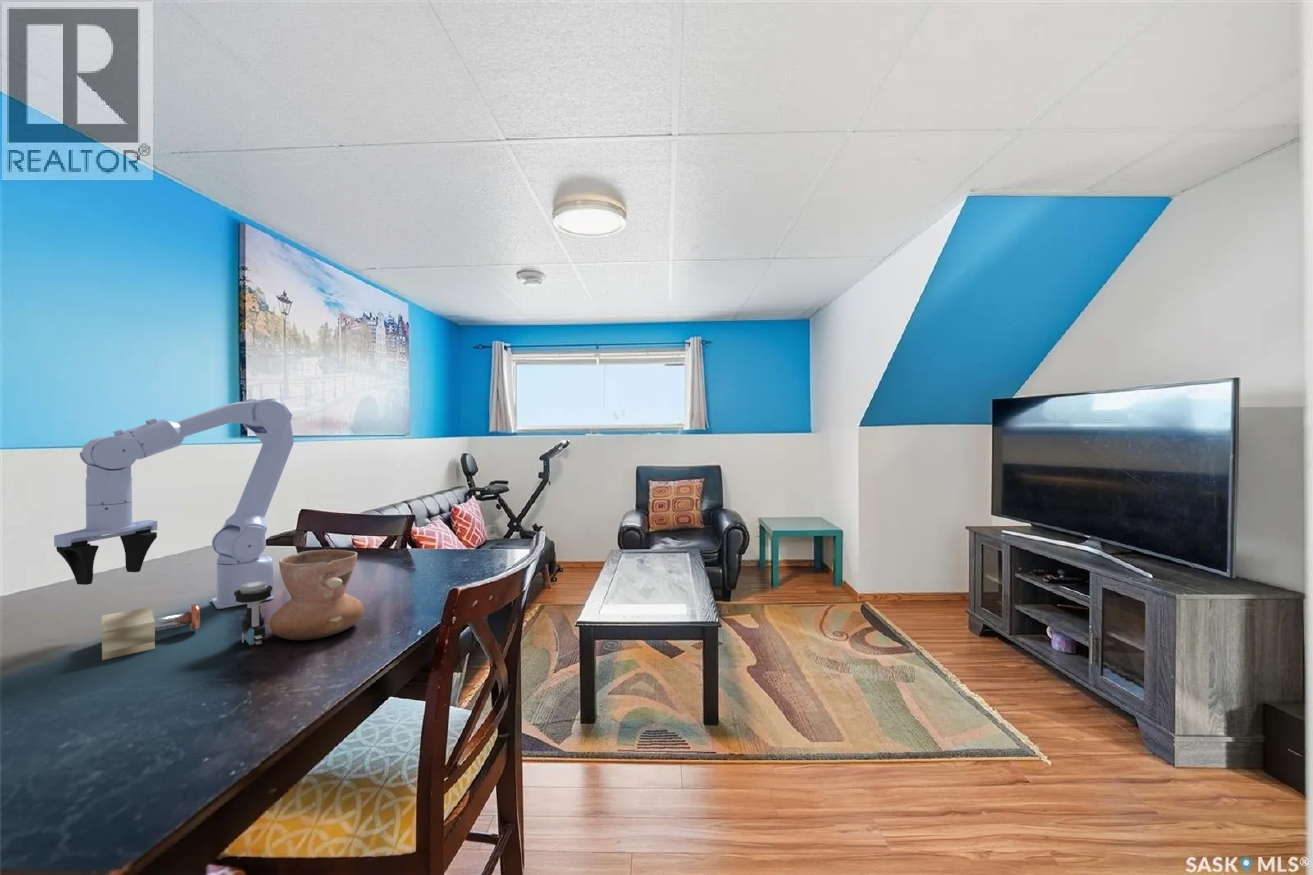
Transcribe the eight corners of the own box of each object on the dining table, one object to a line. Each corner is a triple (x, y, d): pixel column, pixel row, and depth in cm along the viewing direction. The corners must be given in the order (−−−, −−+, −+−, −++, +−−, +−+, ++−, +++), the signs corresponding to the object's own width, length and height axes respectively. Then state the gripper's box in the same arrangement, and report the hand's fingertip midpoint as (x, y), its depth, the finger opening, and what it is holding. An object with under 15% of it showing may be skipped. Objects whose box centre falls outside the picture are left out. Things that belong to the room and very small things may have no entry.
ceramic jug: (378, 632, 94) (380, 555, 95) (285, 657, 83) (286, 570, 83) (342, 611, 106) (343, 542, 106) (255, 630, 95) (257, 554, 95)
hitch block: (150, 632, 93) (150, 607, 93) (154, 648, 86) (154, 621, 86) (101, 642, 88) (101, 615, 88) (102, 660, 81) (102, 631, 81)
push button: (277, 642, 89) (278, 585, 89) (238, 652, 85) (239, 592, 85) (267, 632, 94) (268, 578, 94) (230, 640, 90) (231, 584, 89)
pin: (196, 624, 95) (196, 601, 95) (200, 631, 92) (200, 607, 92) (101, 643, 86) (101, 618, 86) (102, 651, 83) (102, 624, 83)
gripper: (134, 497, 100) (135, 565, 100) (37, 508, 86) (38, 589, 86) (166, 498, 99) (167, 567, 100) (74, 509, 85) (75, 590, 85)
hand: (110, 577), depth 93 cm, fingers open, 7 cm apart
